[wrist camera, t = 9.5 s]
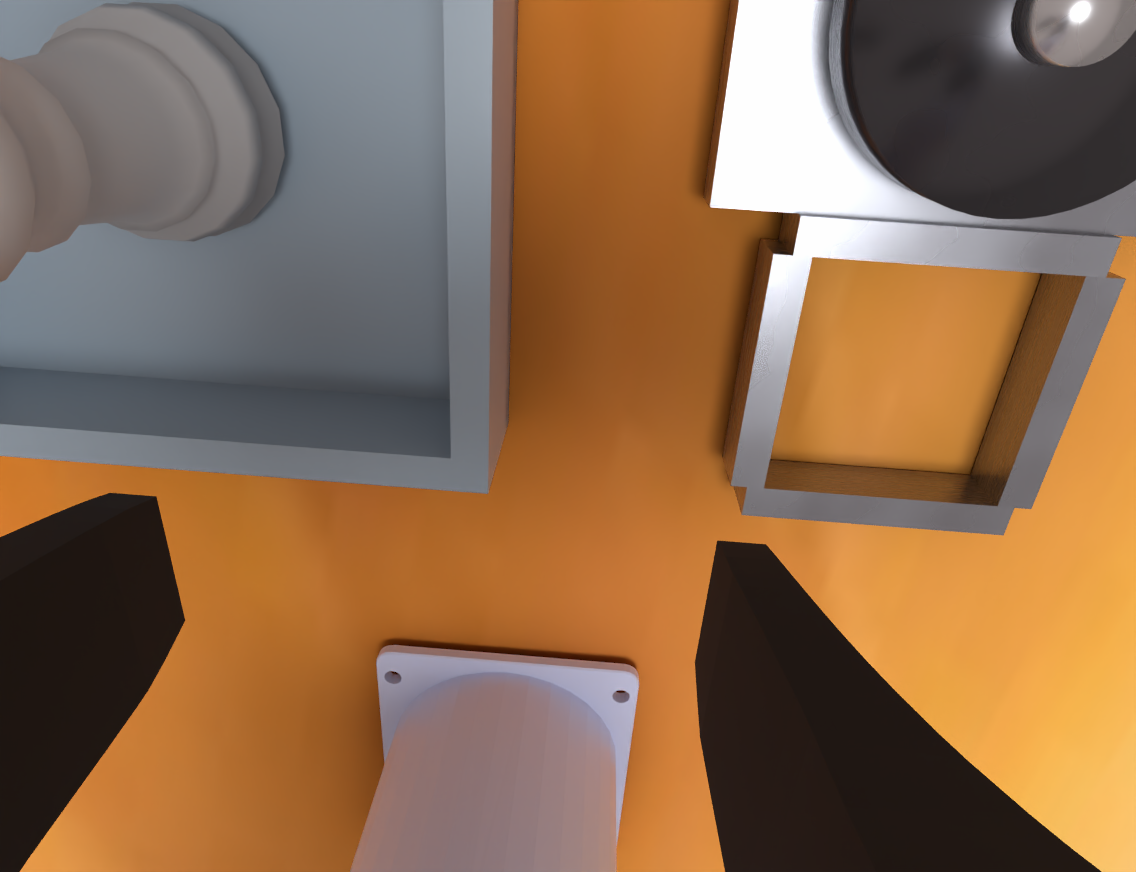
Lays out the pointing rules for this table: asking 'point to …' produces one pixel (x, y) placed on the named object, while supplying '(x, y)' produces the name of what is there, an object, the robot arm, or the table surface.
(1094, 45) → the pulley bracket
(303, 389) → the tray
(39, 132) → the rook chess piece
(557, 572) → the table surface
